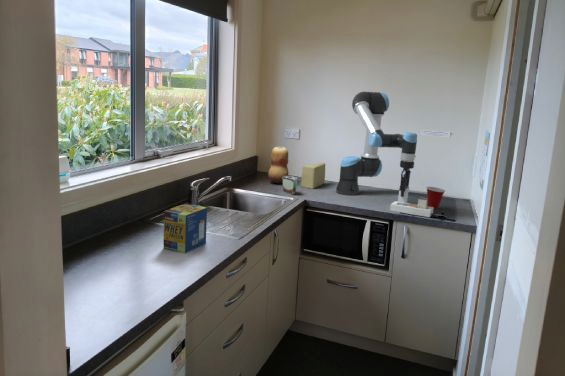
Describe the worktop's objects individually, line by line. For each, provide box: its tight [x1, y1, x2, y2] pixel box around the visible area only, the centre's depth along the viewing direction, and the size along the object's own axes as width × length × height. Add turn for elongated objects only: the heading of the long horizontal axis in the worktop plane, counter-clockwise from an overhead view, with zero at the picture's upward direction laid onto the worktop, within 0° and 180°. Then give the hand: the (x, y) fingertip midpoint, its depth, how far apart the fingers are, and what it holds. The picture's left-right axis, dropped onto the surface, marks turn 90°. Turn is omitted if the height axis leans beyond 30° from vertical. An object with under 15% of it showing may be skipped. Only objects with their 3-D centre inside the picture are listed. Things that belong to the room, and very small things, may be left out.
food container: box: [282, 175, 299, 196], centre depth 293 cm, size 12×6×10 cm, turn 37°
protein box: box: [163, 203, 208, 254], centre depth 188 cm, size 10×15×16 cm
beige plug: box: [417, 196, 428, 209], centre depth 262 cm, size 4×4×9 cm
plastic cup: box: [425, 186, 446, 210], centre depth 276 cm, size 11×11×12 cm
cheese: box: [300, 162, 326, 190], centre depth 318 cm, size 22×10×15 cm, turn 145°
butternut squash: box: [267, 146, 289, 184], centre depth 318 cm, size 14×13×25 cm
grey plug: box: [397, 186, 410, 203], centre depth 266 cm, size 4×4×9 cm
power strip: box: [389, 200, 447, 219], centre depth 263 cm, size 30×10×4 cm, turn 63°
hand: (402, 201), depth 267 cm, fingers closed on grey plug, 4 cm apart
